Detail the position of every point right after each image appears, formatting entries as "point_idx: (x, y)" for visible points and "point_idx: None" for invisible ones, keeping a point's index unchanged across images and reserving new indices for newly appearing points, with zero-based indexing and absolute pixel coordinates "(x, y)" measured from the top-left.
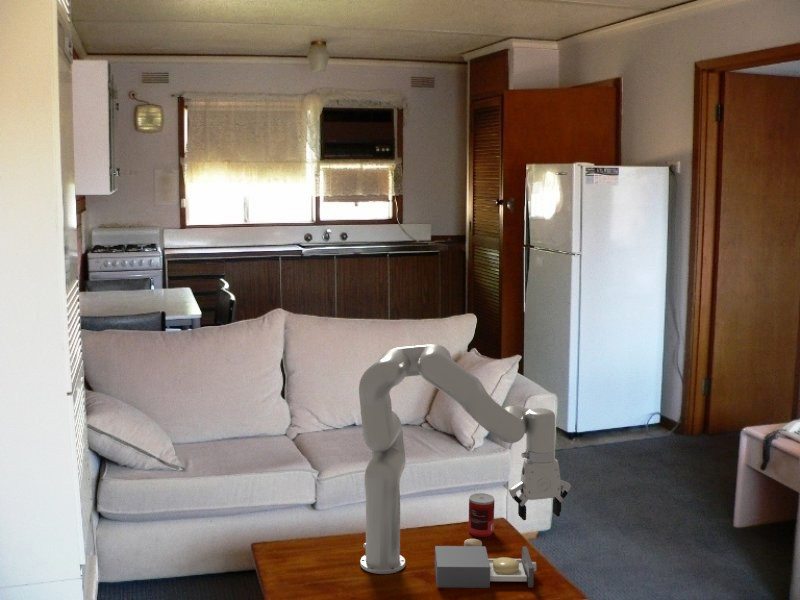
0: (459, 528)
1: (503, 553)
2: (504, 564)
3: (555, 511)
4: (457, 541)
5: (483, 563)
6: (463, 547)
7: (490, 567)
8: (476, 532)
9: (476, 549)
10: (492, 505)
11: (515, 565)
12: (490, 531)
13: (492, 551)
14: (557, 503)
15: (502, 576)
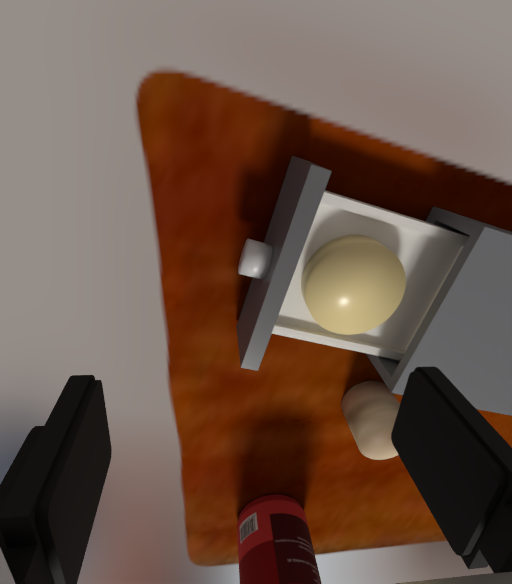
0: (313, 535)
1: (267, 408)
2: (368, 280)
3: (96, 437)
4: (354, 482)
5: (486, 265)
6: (466, 397)
7: None
8: (297, 509)
9: None
10: None
11: (332, 263)
12: (257, 509)
13: (293, 423)
14: (47, 508)
15: (402, 216)
